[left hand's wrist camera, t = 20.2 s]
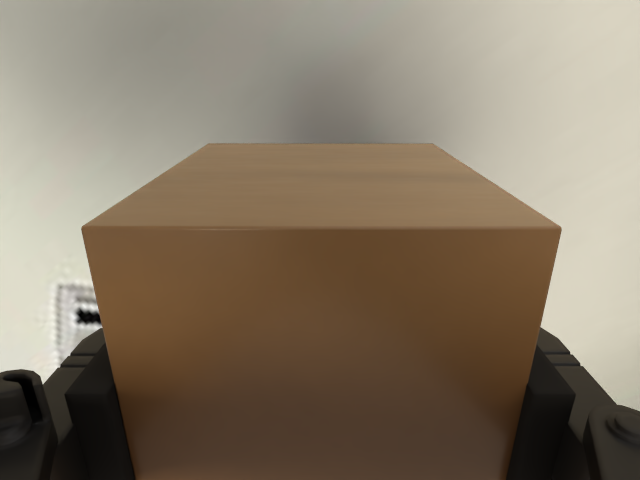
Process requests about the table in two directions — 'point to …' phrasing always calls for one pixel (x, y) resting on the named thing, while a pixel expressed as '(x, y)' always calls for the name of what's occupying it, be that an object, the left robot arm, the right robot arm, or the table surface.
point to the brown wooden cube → (321, 314)
